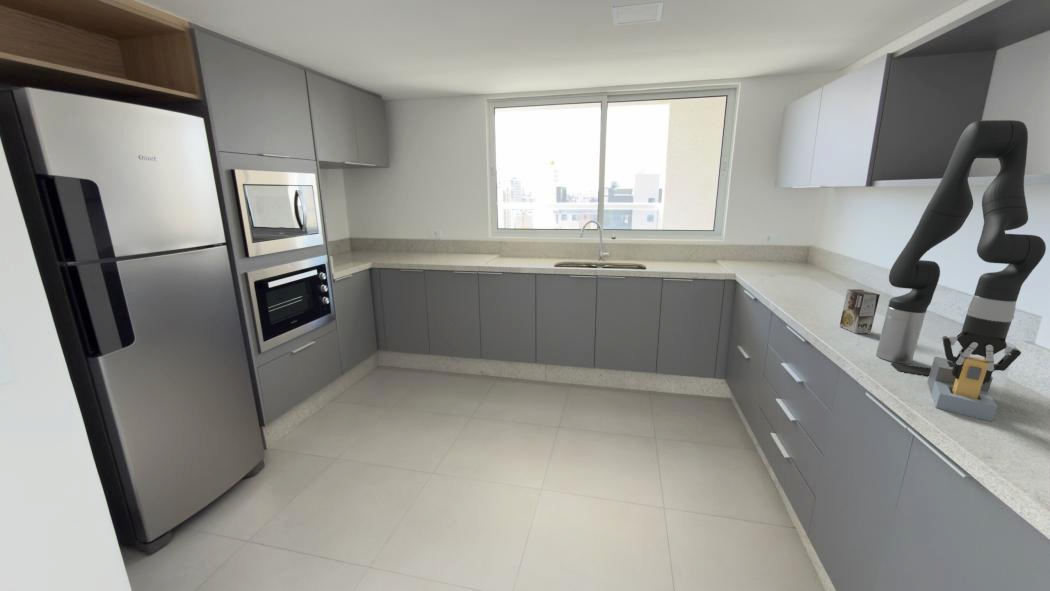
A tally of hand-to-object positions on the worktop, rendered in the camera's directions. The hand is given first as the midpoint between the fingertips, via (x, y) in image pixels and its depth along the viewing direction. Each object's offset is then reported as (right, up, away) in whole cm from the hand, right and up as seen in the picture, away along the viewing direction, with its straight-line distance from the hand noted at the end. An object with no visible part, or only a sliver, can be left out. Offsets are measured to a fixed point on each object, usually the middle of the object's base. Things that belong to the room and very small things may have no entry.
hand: (968, 380), depth 106 cm
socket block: (+3, -6, +6) cm, 9 cm away
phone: (+11, -3, +23) cm, 26 cm away
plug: (0, -4, +1) cm, 4 cm away
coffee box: (+20, +7, +62) cm, 66 cm away
